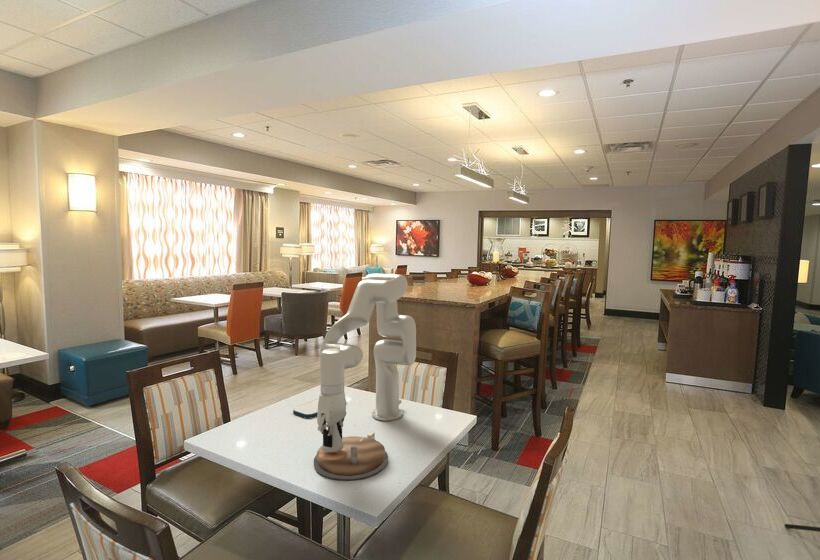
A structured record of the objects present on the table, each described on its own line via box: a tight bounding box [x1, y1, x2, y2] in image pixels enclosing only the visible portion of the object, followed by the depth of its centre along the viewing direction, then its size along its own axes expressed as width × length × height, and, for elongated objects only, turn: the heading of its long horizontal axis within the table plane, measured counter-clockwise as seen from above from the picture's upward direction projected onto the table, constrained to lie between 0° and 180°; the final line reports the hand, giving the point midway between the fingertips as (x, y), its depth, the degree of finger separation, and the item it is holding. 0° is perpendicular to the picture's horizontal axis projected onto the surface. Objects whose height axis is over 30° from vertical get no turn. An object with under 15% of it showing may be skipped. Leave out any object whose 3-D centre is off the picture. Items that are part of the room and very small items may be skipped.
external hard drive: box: [292, 398, 347, 419], centre depth 186 cm, size 24×12×2 cm, turn 146°
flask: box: [321, 423, 344, 452], centre depth 139 cm, size 7×7×10 cm
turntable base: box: [313, 431, 389, 482], centre depth 141 cm, size 26×24×4 cm
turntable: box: [316, 435, 386, 475], centre depth 140 cm, size 22×22×7 cm
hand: (332, 442), depth 139 cm, fingers closed on flask, 4 cm apart
